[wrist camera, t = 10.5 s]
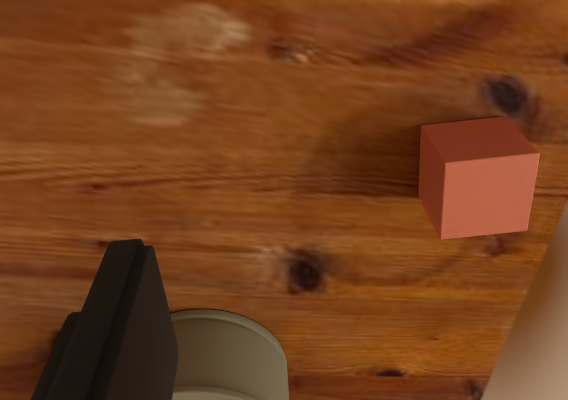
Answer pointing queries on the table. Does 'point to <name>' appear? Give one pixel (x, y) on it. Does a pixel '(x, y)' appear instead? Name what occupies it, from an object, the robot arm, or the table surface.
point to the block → (476, 177)
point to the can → (227, 358)
